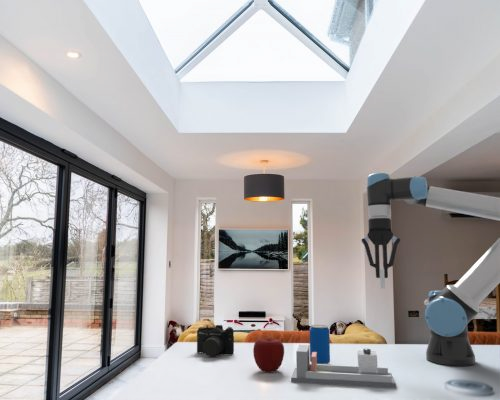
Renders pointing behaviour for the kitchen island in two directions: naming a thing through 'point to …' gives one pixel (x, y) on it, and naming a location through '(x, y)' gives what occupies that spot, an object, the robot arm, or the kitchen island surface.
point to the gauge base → (337, 373)
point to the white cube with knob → (367, 362)
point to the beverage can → (320, 343)
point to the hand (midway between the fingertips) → (382, 287)
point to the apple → (268, 354)
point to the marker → (314, 361)
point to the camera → (215, 340)
